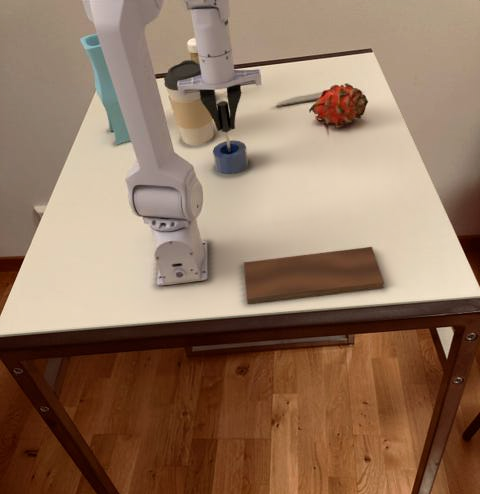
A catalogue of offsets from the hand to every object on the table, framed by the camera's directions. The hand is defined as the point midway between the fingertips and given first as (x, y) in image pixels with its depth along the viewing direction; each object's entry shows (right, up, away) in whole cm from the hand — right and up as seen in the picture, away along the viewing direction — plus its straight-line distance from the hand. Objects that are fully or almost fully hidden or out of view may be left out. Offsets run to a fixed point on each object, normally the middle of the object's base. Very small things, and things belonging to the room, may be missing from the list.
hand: (226, 127), depth 95 cm
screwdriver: (+1, -3, +3) cm, 4 cm away
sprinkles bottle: (-5, +17, +28) cm, 33 cm away
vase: (-23, +7, +22) cm, 32 cm away
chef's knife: (+20, +15, +22) cm, 33 cm away
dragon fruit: (+23, +5, +13) cm, 27 cm away
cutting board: (+13, -29, -17) cm, 37 cm away
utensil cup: (+1, -6, +6) cm, 8 cm away
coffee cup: (-6, +4, +16) cm, 18 cm away
